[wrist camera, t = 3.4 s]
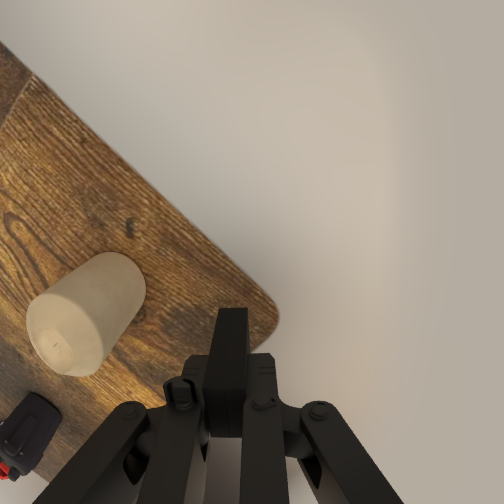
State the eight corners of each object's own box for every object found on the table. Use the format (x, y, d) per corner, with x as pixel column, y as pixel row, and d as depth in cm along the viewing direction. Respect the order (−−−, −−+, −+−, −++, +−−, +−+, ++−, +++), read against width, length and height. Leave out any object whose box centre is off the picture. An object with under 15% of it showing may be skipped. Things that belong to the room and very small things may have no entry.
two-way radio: (25, 399, 28) (-34, 481, 14) (29, 379, 27) (-39, 467, 13) (62, 425, 29) (11, 515, 15) (69, 408, 28) (11, 507, 14)
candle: (74, 268, 23) (-1, 324, 14) (123, 238, 23) (49, 288, 13) (109, 324, 25) (53, 398, 15) (160, 300, 24) (112, 379, 14)
